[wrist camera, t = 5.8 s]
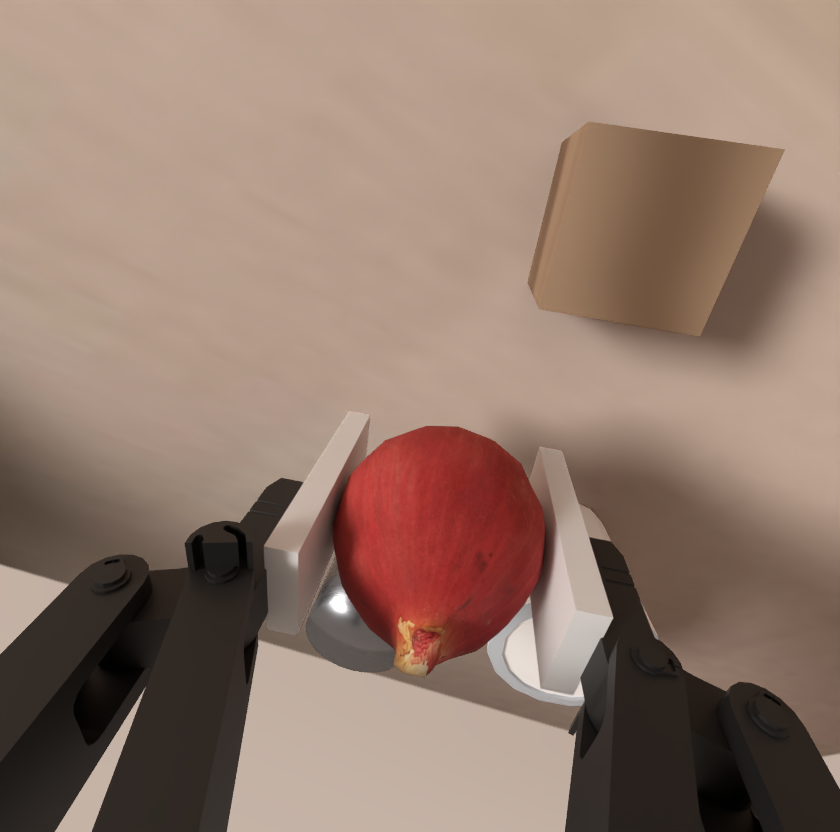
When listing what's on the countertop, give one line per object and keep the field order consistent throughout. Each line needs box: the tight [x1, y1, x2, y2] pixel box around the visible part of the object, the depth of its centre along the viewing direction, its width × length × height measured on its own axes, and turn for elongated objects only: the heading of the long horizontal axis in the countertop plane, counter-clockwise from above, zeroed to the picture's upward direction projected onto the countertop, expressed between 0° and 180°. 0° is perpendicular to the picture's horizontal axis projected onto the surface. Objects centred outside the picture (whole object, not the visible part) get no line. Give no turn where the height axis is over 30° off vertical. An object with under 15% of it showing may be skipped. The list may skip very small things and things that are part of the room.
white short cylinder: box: [487, 503, 659, 706], centre depth 21 cm, size 7×7×7 cm
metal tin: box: [306, 556, 395, 672], centre depth 23 cm, size 5×5×6 cm
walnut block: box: [528, 122, 784, 337], centre depth 15 cm, size 5×5×5 cm
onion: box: [333, 426, 545, 678], centre depth 12 cm, size 6×6×8 cm
